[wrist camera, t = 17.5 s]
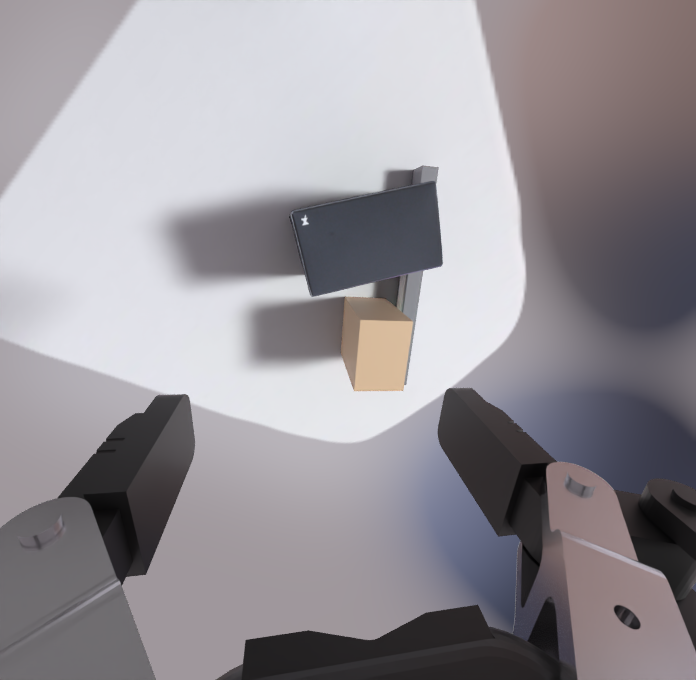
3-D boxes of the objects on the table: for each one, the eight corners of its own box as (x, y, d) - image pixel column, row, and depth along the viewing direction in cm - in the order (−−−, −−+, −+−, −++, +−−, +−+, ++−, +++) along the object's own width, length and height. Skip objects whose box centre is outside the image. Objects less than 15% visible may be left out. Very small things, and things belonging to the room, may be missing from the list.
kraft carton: (340, 352, 37) (354, 391, 28) (344, 296, 35) (360, 319, 26) (380, 353, 37) (404, 390, 29) (386, 298, 35) (414, 321, 27)
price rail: (412, 169, 31) (421, 165, 29) (428, 171, 32) (438, 167, 29) (386, 375, 38) (392, 384, 36) (399, 375, 39) (405, 384, 36)
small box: (305, 279, 33) (309, 302, 24) (288, 212, 31) (284, 207, 21) (402, 256, 34) (445, 269, 24) (393, 189, 32) (437, 175, 22)
